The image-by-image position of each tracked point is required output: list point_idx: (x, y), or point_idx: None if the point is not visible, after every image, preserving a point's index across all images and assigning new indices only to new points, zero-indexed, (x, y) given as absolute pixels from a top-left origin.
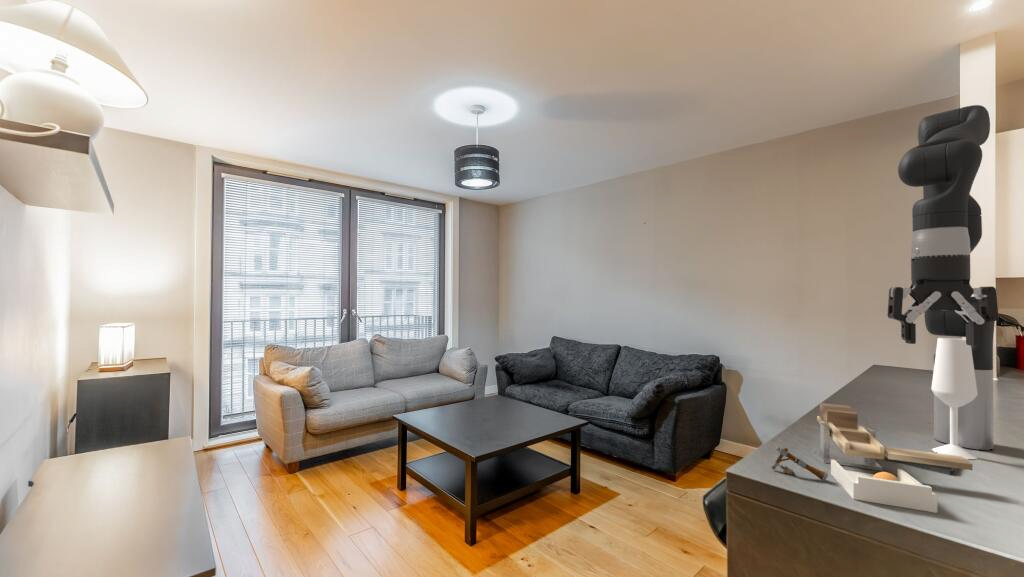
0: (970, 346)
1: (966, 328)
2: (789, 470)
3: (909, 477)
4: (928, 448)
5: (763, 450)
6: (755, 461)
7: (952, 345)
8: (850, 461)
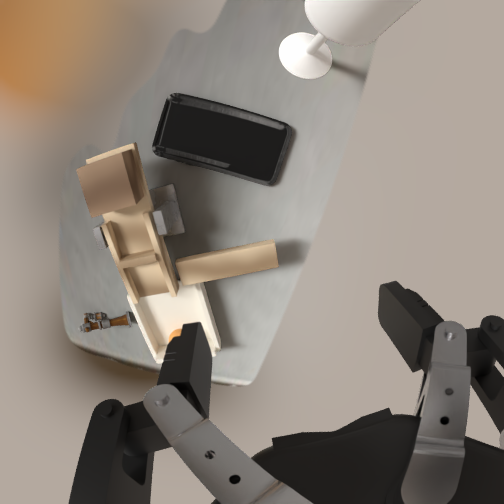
0: None
1: (411, 321)
2: (99, 319)
3: (203, 311)
4: (276, 43)
5: (60, 243)
6: (67, 295)
7: None
8: None
